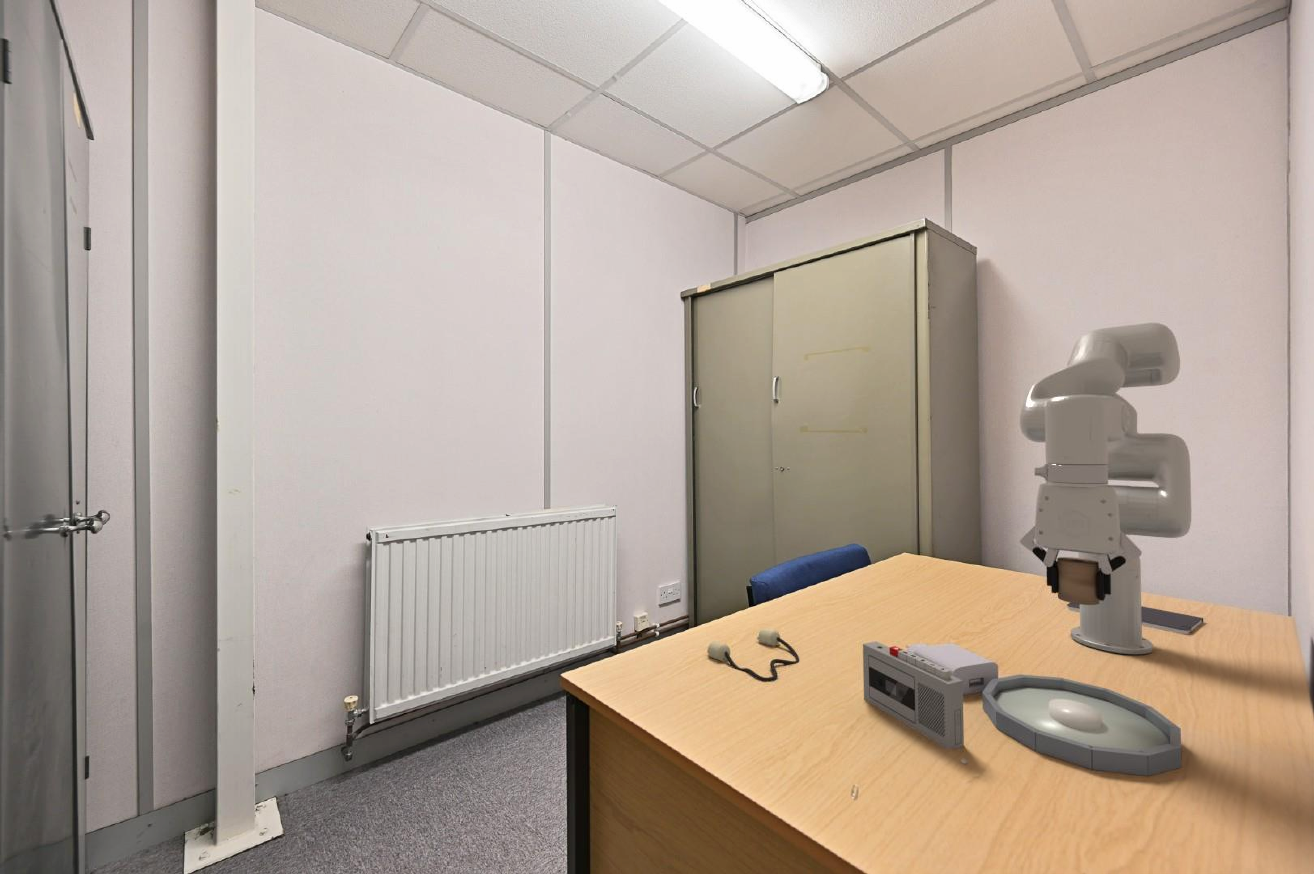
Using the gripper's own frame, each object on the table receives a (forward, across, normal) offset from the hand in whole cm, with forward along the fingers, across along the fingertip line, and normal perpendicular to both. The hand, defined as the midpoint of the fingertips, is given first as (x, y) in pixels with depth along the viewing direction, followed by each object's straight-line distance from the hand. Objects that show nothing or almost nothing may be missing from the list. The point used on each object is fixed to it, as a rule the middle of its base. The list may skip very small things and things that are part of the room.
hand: (1078, 593), depth 82 cm
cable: (+19, -47, -15) cm, 53 cm away
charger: (+18, -20, 0) cm, 27 cm away
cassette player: (+18, -18, -20) cm, 33 cm away
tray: (+18, 0, -6) cm, 19 cm away
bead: (+1, 0, 0) cm, 1 cm away
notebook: (+18, +3, +61) cm, 64 cm away
